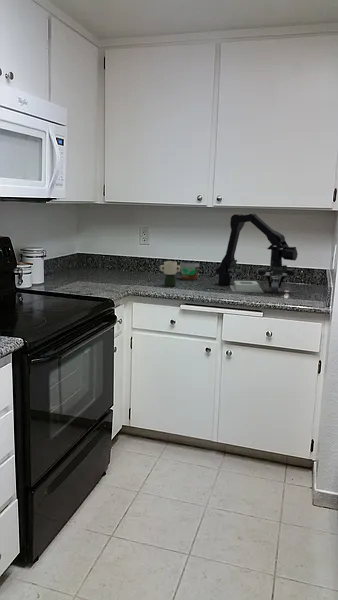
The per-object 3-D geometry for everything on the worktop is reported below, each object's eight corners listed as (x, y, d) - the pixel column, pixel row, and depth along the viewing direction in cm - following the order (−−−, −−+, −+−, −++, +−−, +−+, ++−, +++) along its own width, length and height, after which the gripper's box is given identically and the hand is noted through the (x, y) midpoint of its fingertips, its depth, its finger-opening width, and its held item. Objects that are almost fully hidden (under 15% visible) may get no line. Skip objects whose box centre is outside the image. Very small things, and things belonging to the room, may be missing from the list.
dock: (232, 292, 256) (233, 285, 255) (229, 286, 271) (230, 279, 271) (263, 292, 256) (263, 286, 255) (258, 286, 271) (259, 280, 270)
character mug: (180, 284, 272) (180, 261, 269) (179, 287, 265) (180, 263, 262) (160, 284, 273) (161, 260, 270) (159, 286, 266) (159, 262, 263)
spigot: (270, 292, 256) (271, 277, 254) (269, 290, 261) (270, 276, 259) (279, 292, 256) (280, 277, 254) (277, 291, 260) (278, 276, 259)
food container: (175, 279, 288) (176, 262, 286) (180, 277, 294) (180, 261, 291) (195, 281, 283) (195, 264, 281) (199, 279, 289) (199, 262, 286)
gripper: (260, 260, 247) (258, 290, 250) (298, 261, 246) (295, 291, 250) (257, 257, 258) (255, 286, 261) (293, 258, 257) (290, 287, 261)
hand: (274, 288), depth 258 cm, fingers closed on spigot, 4 cm apart
